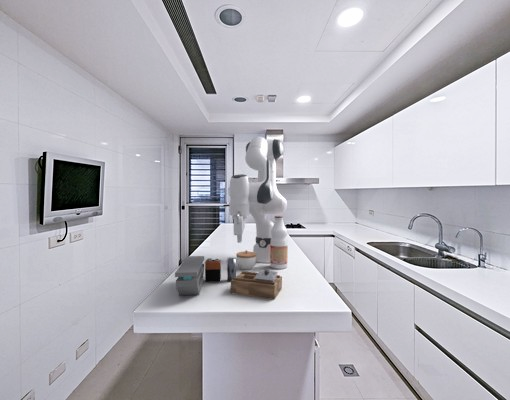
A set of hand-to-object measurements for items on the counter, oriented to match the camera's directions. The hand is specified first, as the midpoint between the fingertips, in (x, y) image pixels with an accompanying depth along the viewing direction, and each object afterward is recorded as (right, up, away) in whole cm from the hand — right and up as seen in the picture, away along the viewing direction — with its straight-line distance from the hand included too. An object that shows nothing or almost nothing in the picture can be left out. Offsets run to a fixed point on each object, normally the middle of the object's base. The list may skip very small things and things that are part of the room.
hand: (239, 242), depth 112 cm
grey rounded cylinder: (-4, -18, +3) cm, 19 cm away
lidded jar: (+2, -18, +24) cm, 30 cm away
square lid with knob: (+12, -13, -10) cm, 21 cm away
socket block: (+8, -18, -9) cm, 22 cm away
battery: (-12, -18, +3) cm, 22 cm away
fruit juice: (+20, -18, +26) cm, 37 cm away
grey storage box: (-19, -19, -8) cm, 28 cm away
